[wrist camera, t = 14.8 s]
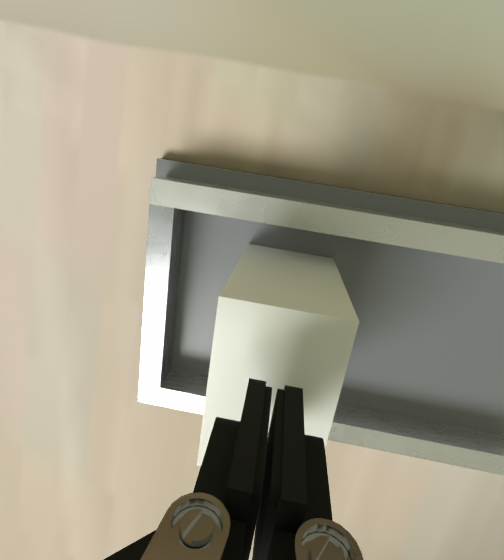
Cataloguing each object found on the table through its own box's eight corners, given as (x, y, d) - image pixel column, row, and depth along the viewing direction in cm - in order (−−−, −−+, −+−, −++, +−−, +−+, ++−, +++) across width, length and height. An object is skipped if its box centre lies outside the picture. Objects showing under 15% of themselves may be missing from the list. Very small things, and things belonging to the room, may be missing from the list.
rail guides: (590, 245, 17) (627, 255, 15) (496, 449, 21) (516, 477, 19) (165, 176, 19) (151, 177, 17) (151, 381, 22) (137, 401, 21)
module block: (333, 258, 19) (359, 321, 11) (307, 373, 21) (314, 490, 14) (248, 243, 19) (218, 296, 12) (231, 358, 21) (196, 465, 14)
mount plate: (599, 228, 18) (609, 231, 17) (495, 454, 22) (500, 462, 22) (161, 158, 19) (156, 158, 18) (146, 385, 23) (142, 390, 23)
